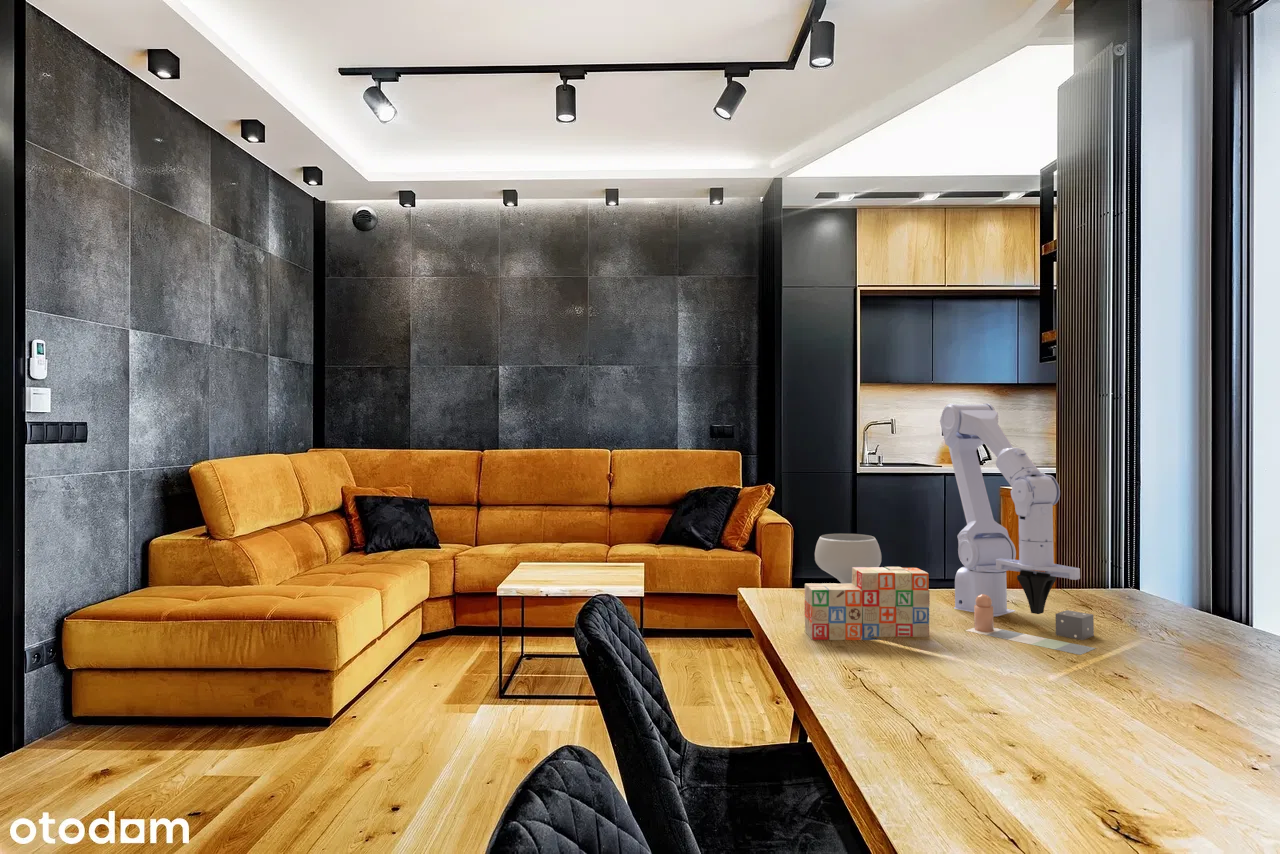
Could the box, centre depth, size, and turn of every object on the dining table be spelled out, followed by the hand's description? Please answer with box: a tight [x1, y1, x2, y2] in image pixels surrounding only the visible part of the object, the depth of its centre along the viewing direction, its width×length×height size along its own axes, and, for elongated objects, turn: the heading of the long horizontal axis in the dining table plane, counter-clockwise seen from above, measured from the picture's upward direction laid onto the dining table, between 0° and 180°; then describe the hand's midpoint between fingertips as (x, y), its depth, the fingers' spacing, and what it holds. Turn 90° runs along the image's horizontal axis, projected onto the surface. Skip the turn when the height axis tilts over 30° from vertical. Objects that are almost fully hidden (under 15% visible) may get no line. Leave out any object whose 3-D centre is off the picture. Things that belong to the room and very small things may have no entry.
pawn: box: [973, 594, 995, 632], centre depth 140 cm, size 3×3×7 cm
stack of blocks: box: [804, 566, 931, 641], centre depth 139 cm, size 21×6×12 cm, turn 89°
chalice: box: [814, 533, 882, 584], centre depth 163 cm, size 14×14×15 cm
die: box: [1055, 609, 1095, 641], centre depth 136 cm, size 5×5×5 cm
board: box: [965, 627, 1097, 656], centre depth 133 cm, size 20×6×1 cm, turn 37°
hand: (1037, 612), depth 141 cm, fingers closed
